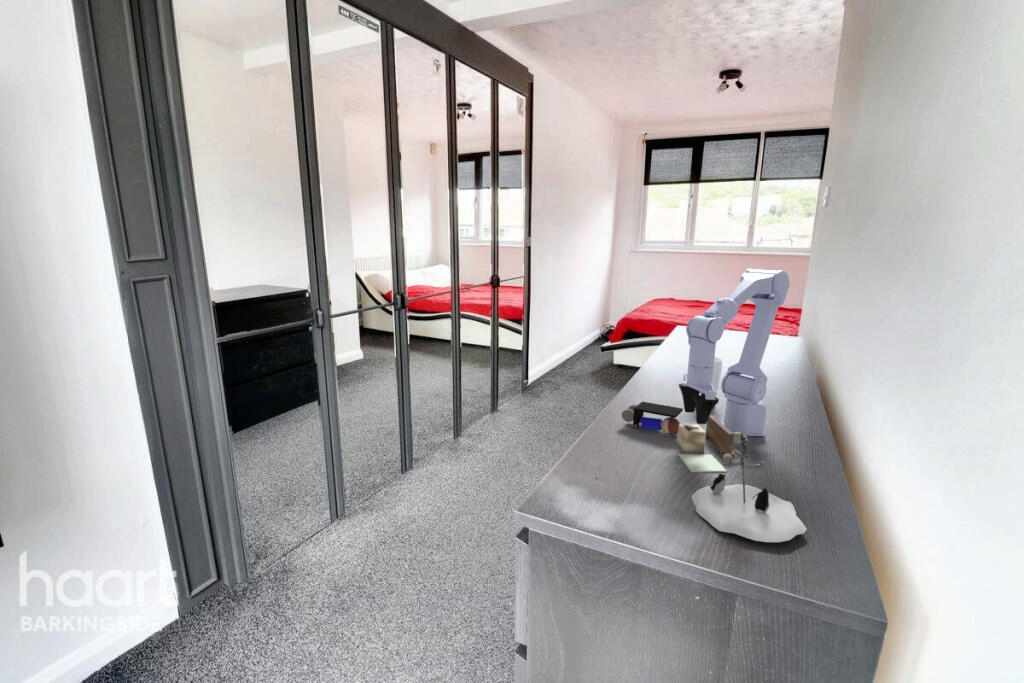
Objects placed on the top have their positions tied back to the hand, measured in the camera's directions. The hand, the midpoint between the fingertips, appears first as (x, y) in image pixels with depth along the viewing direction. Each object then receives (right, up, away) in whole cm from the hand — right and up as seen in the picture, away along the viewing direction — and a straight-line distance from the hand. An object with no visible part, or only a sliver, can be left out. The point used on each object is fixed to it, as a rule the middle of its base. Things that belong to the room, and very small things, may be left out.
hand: (695, 417), depth 116 cm
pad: (-1, -10, -8) cm, 12 cm away
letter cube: (-1, -8, +2) cm, 8 cm away
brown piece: (+6, -8, +2) cm, 10 cm away
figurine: (-1, -15, -27) cm, 31 cm away
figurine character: (-8, -6, +11) cm, 15 cm away
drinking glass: (+16, -1, +32) cm, 36 cm away
